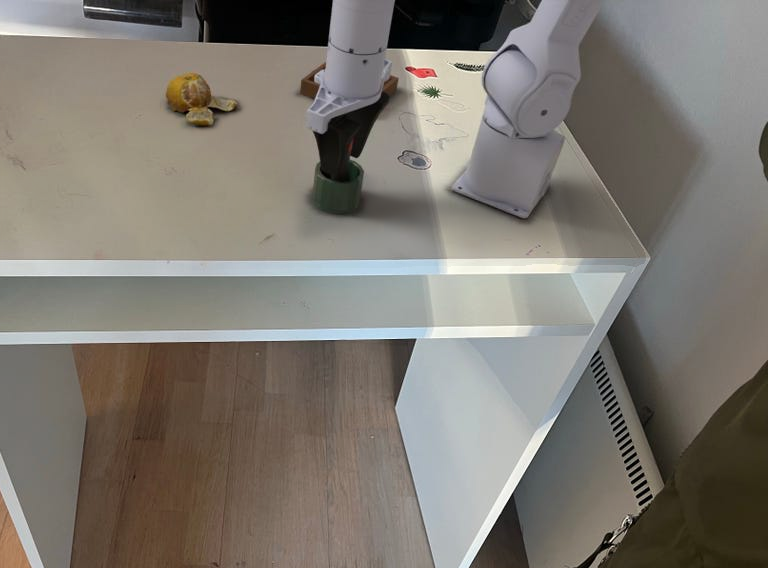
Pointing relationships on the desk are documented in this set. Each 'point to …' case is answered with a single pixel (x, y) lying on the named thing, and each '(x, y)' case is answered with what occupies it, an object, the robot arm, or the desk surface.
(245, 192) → the desk surface
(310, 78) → the brown tray
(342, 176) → the marker
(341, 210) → the green hollow cylinder
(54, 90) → the desk surface
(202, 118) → the fruit
